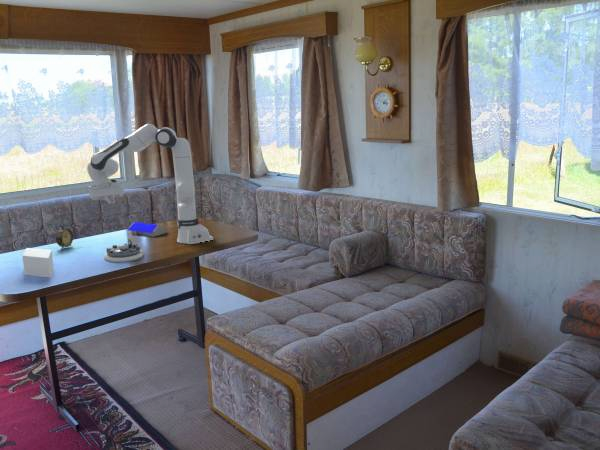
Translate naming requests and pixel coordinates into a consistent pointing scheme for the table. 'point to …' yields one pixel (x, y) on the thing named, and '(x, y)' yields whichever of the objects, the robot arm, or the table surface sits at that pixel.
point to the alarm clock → (64, 237)
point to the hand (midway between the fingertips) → (112, 202)
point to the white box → (38, 262)
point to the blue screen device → (146, 229)
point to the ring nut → (129, 251)
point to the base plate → (123, 259)
